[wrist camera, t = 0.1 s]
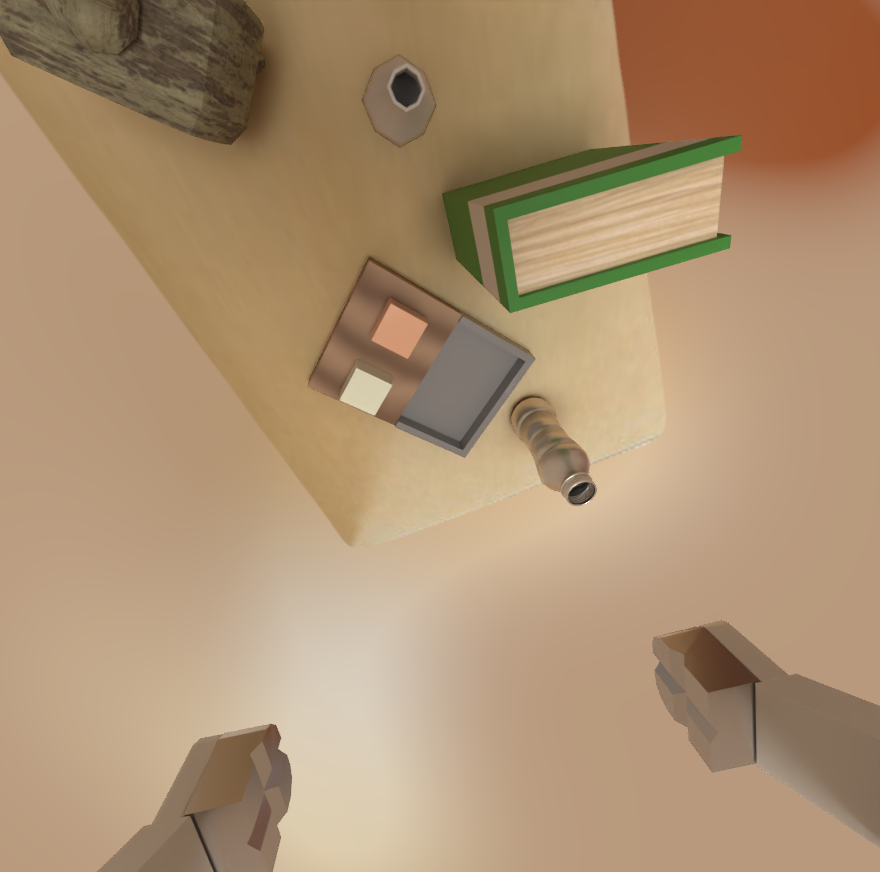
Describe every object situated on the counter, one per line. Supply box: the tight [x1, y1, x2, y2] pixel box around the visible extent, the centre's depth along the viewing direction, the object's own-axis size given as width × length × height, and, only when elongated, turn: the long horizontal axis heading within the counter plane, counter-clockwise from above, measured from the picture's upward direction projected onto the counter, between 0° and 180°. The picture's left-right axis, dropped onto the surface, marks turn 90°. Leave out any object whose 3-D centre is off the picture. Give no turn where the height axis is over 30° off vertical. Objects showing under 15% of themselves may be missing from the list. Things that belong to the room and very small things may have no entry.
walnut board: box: [308, 257, 462, 425], centre depth 57 cm, size 18×13×2 cm
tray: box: [395, 310, 535, 458], centre depth 62 cm, size 18×12×3 cm, turn 149°
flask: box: [362, 55, 436, 147], centre depth 41 cm, size 7×7×10 cm
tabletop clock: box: [0, 0, 265, 145], centre depth 31 cm, size 14×9×25 cm, turn 67°
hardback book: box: [443, 135, 742, 313], centre depth 42 cm, size 18×7×24 cm, turn 104°
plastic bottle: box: [511, 398, 597, 506], centre depth 59 cm, size 6×7×20 cm
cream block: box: [339, 359, 392, 416], centre depth 57 cm, size 5×5×3 cm
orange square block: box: [371, 298, 428, 359], centre depth 53 cm, size 5×5×3 cm
